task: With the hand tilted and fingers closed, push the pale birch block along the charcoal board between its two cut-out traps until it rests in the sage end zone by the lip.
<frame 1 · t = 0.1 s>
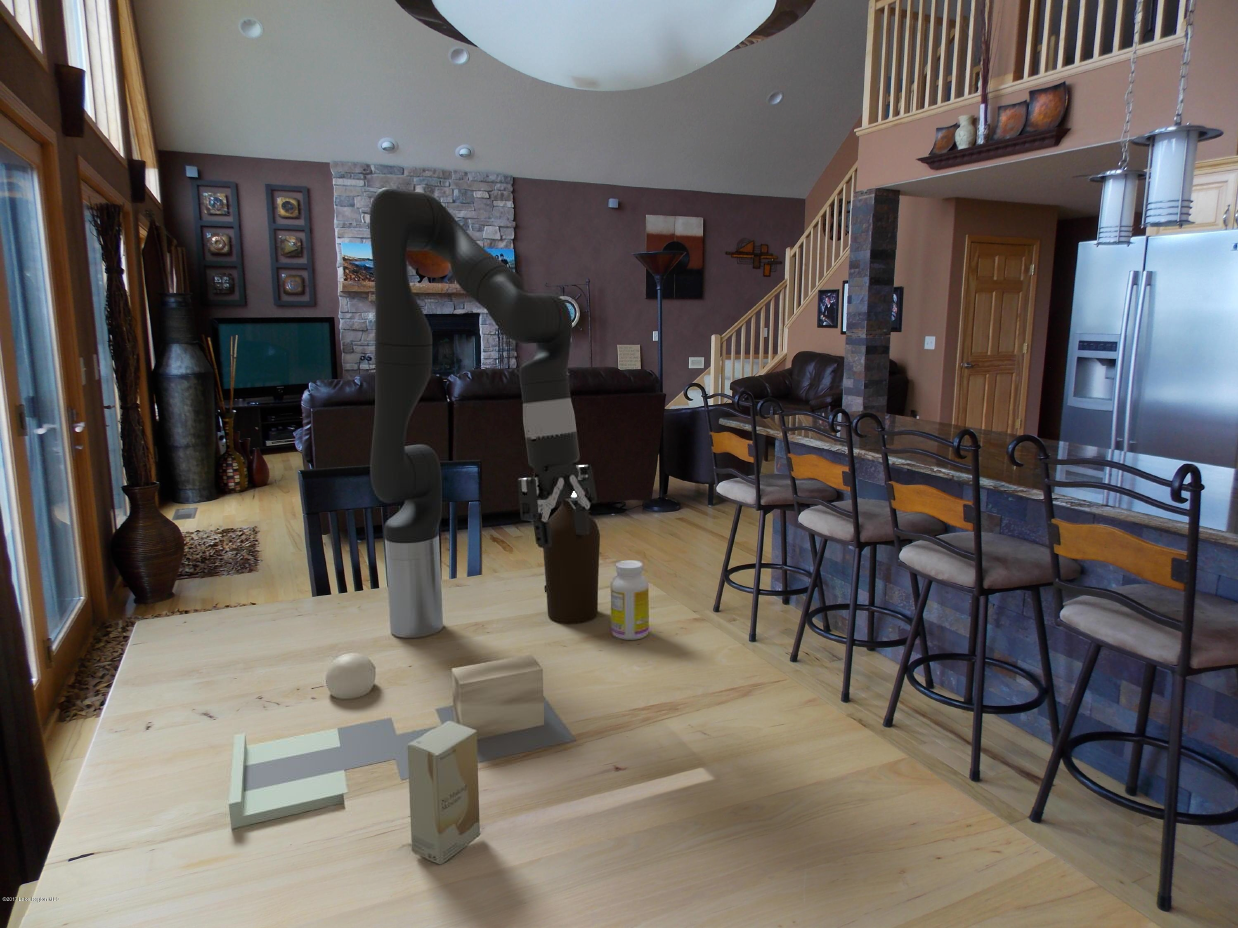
hand: (564, 540, 117), 22 cm above the table, tool pointing down, fingers open, 8 cm apart
skincare box: (447, 844, 84), on the table
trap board: (412, 751, 102), on the table
supplement bottle: (629, 634, 140), on the table
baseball: (353, 698, 117), on the table
olive oil: (572, 615, 149), on the table
birch block: (499, 724, 106), point 1 cm above the table, touching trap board
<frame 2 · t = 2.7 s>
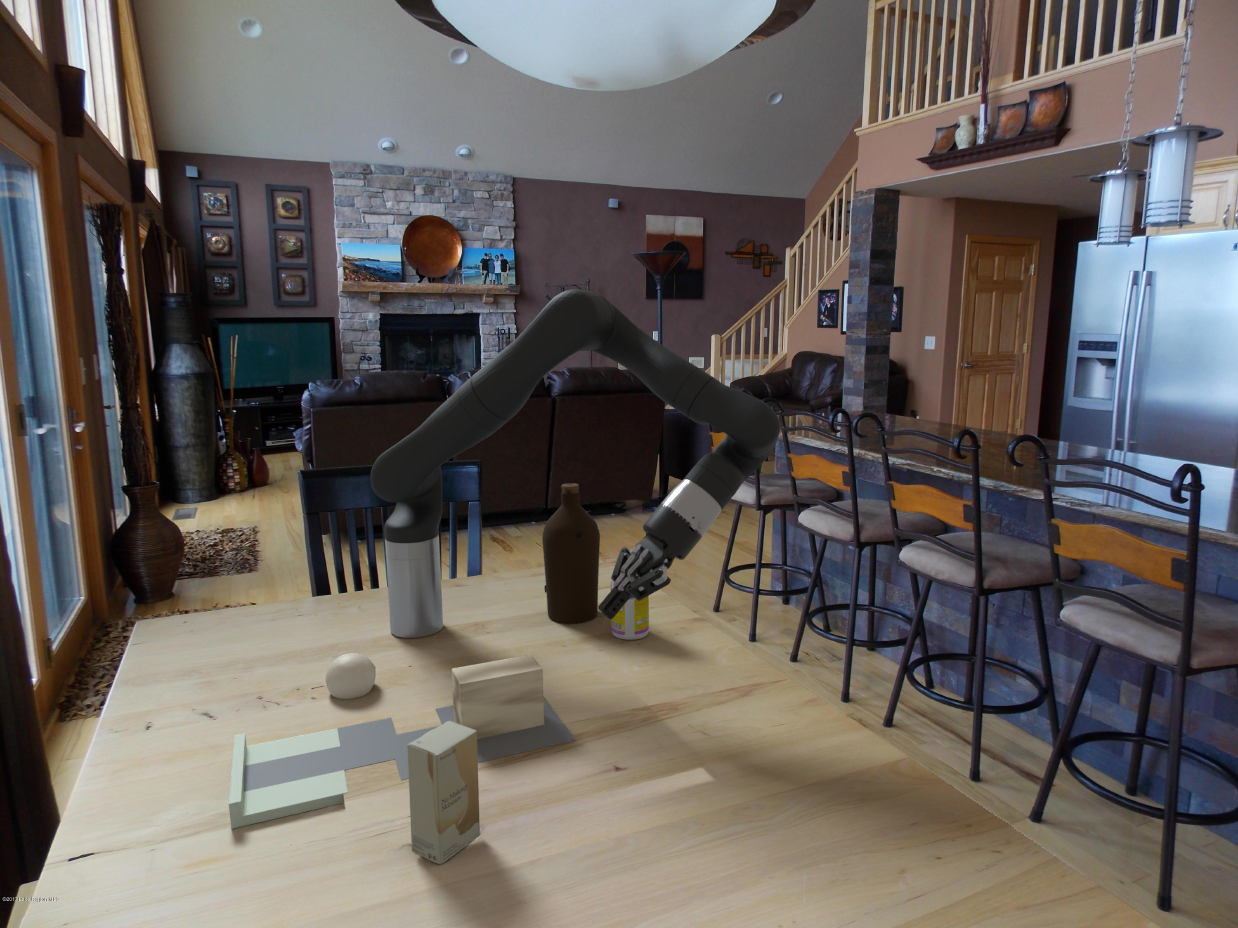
hand: (604, 614, 110), 14 cm above the table, tool tilted 45°, fingers closed
nothing on the table moved.
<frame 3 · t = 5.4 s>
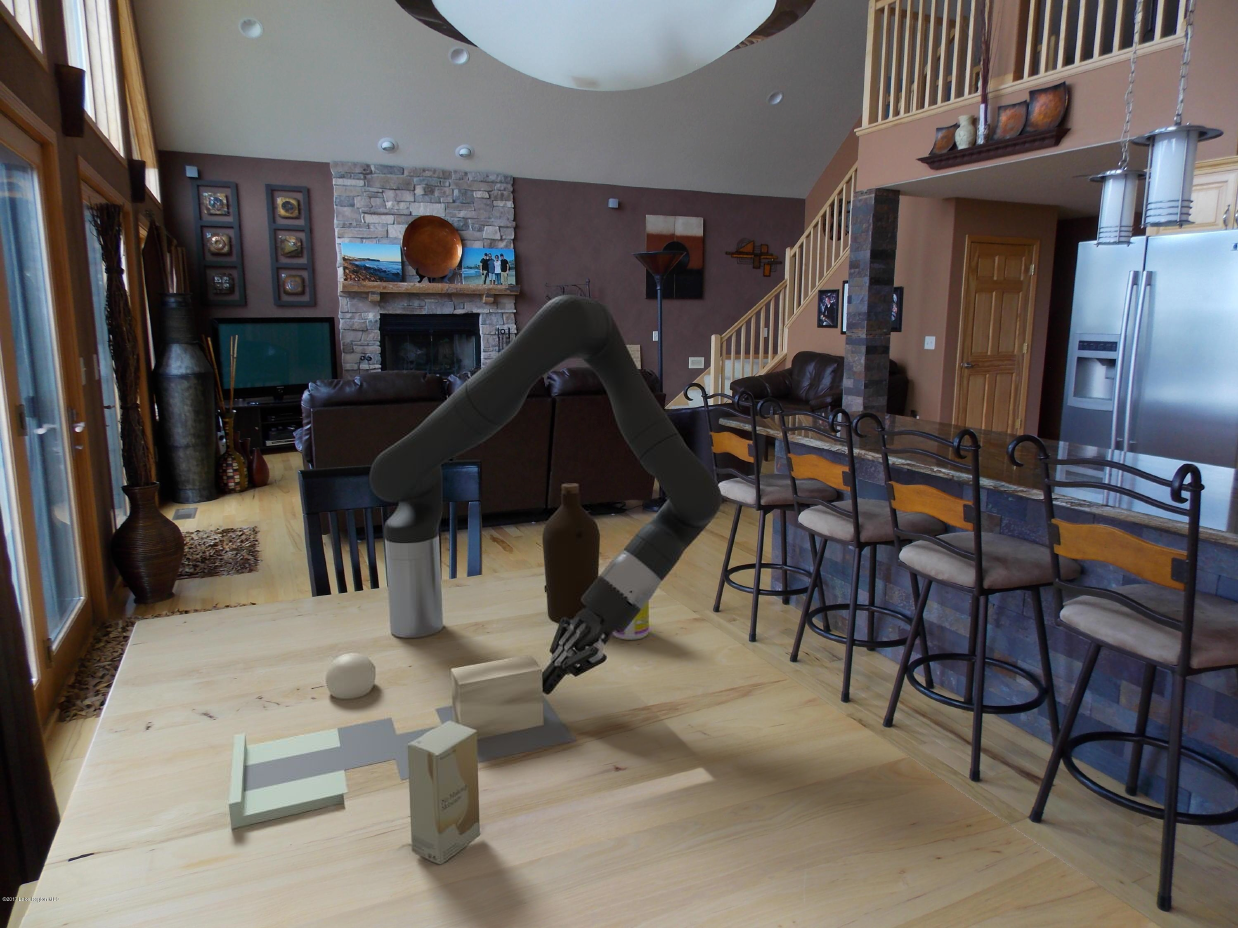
hand: (541, 689, 108), 5 cm above the table, tool tilted 45°, fingers closed
nothing on the table moved.
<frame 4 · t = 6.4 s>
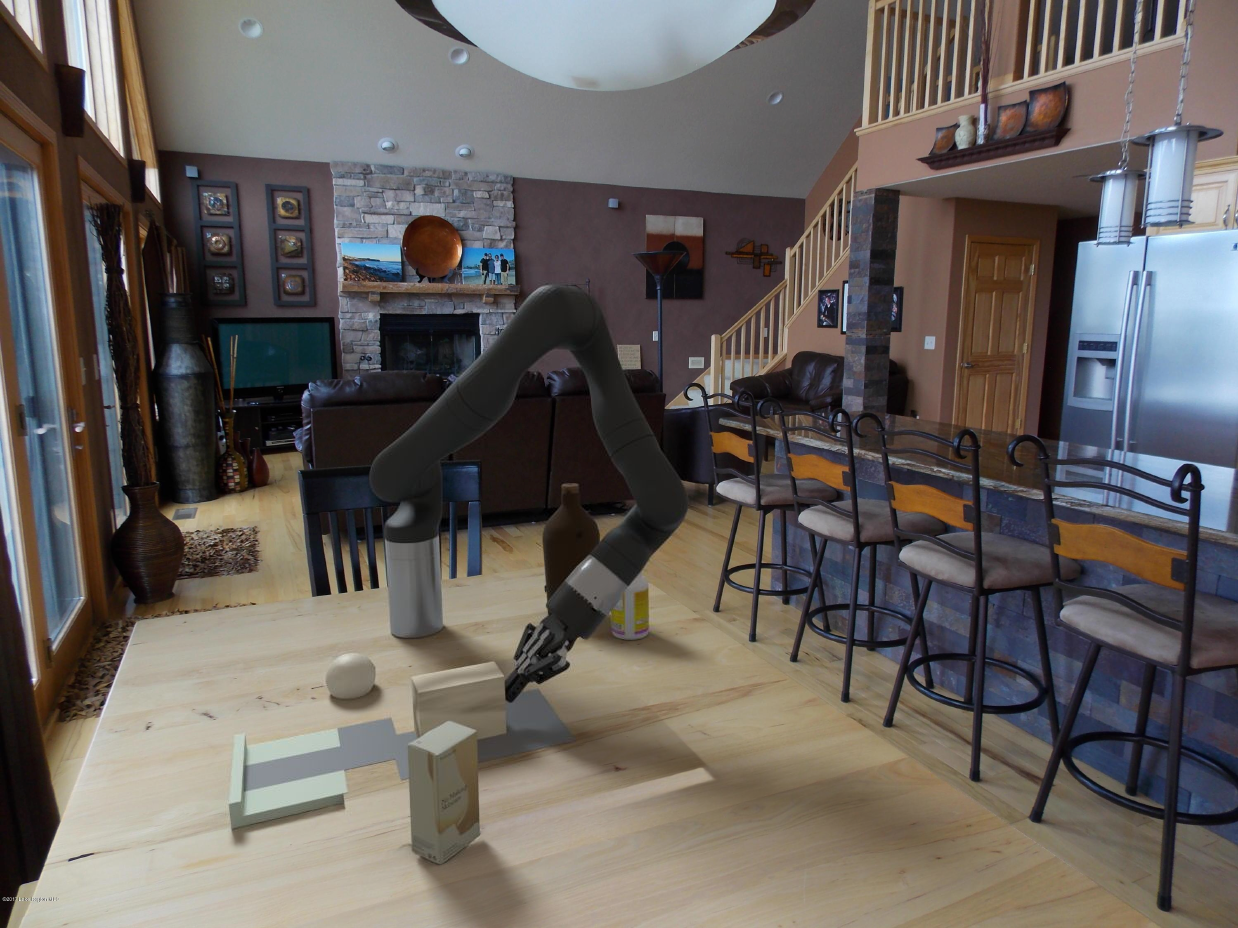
hand: (504, 697, 106), 5 cm above the table, tool tilted 45°, fingers closed
birch block: (460, 733, 104), point 1 cm above the table, touching gripper, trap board
everything else where it was.
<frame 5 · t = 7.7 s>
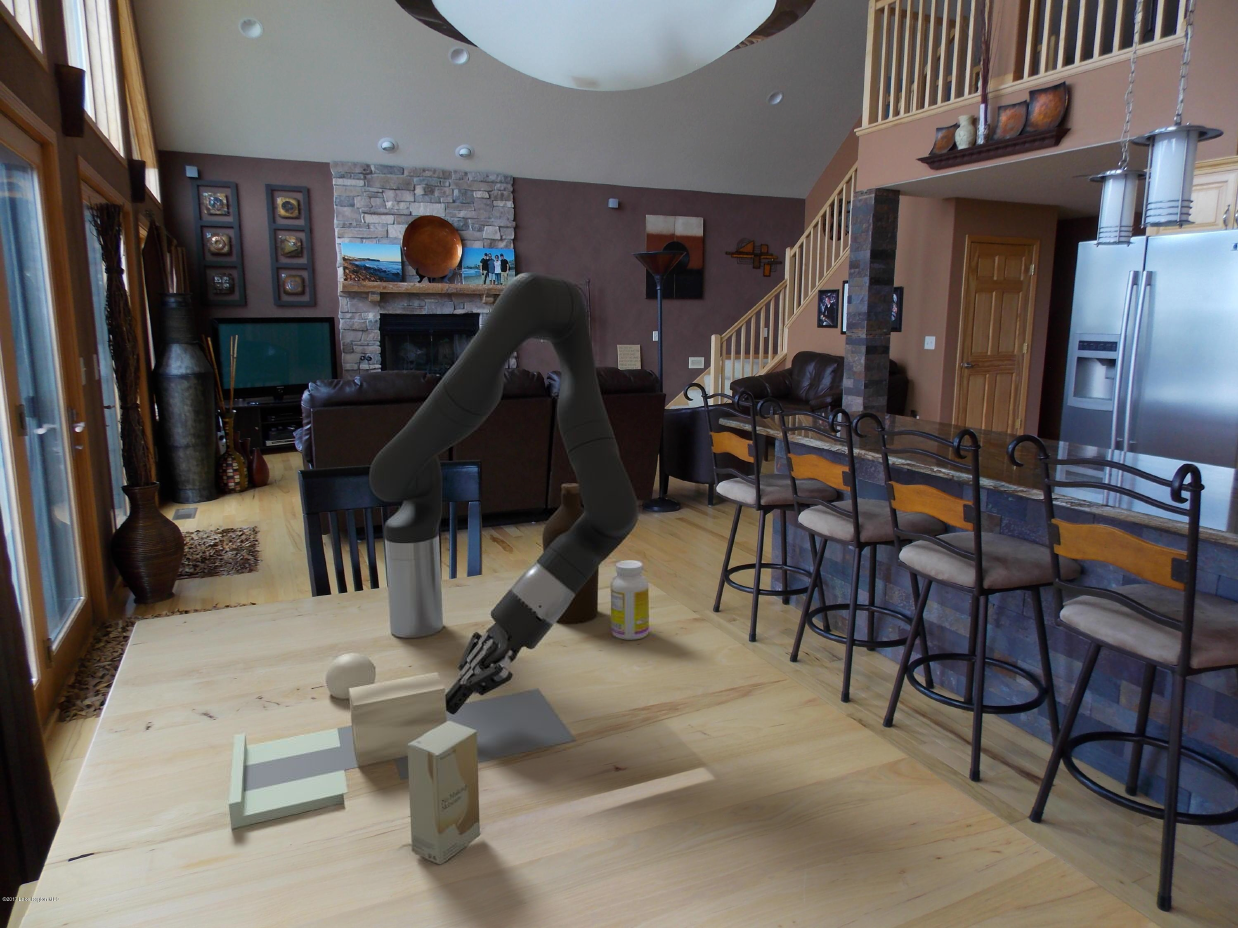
hand: (446, 708, 103), 5 cm above the table, tool tilted 45°, fingers closed
birch block: (400, 746, 101), point 1 cm above the table, touching gripper, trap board
everything else where it was.
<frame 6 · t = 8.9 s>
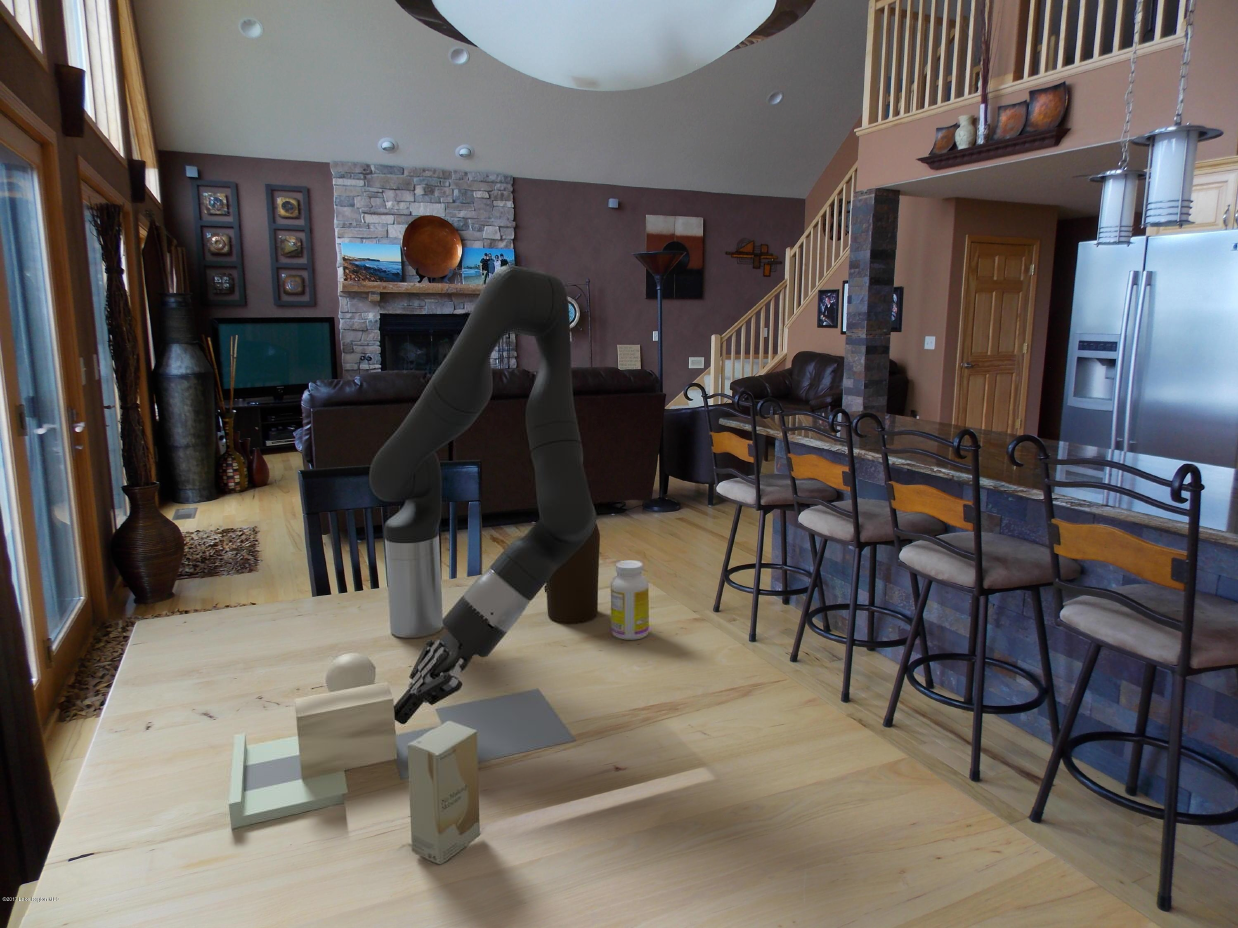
hand: (396, 718, 100), 5 cm above the table, tool tilted 45°, fingers closed
birch block: (348, 758, 98), point 1 cm above the table, touching gripper
everything else where it was.
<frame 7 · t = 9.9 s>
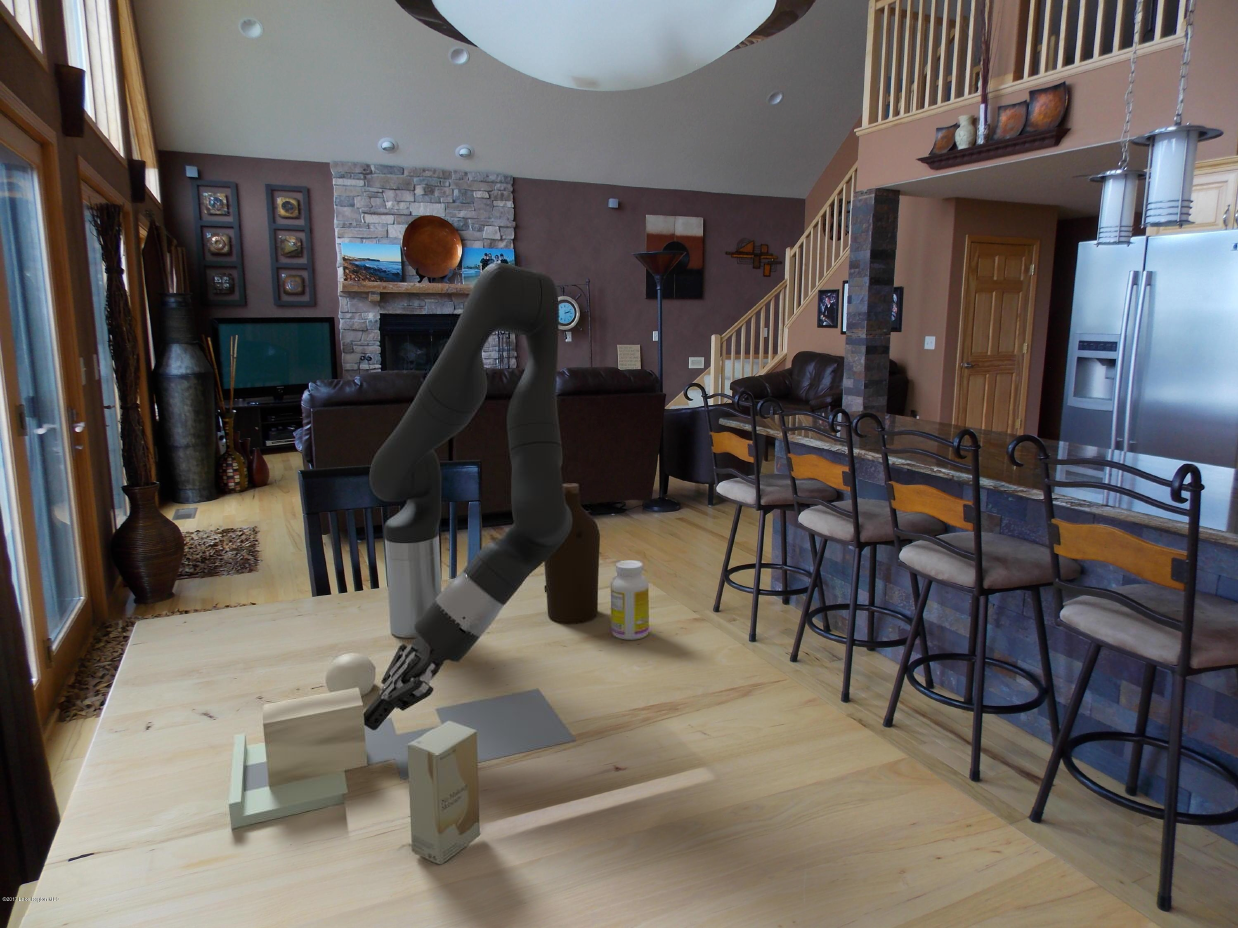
hand: (367, 724, 99), 5 cm above the table, tool tilted 45°, fingers closed
birch block: (317, 765, 97), point 1 cm above the table, touching gripper, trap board
everything else where it was.
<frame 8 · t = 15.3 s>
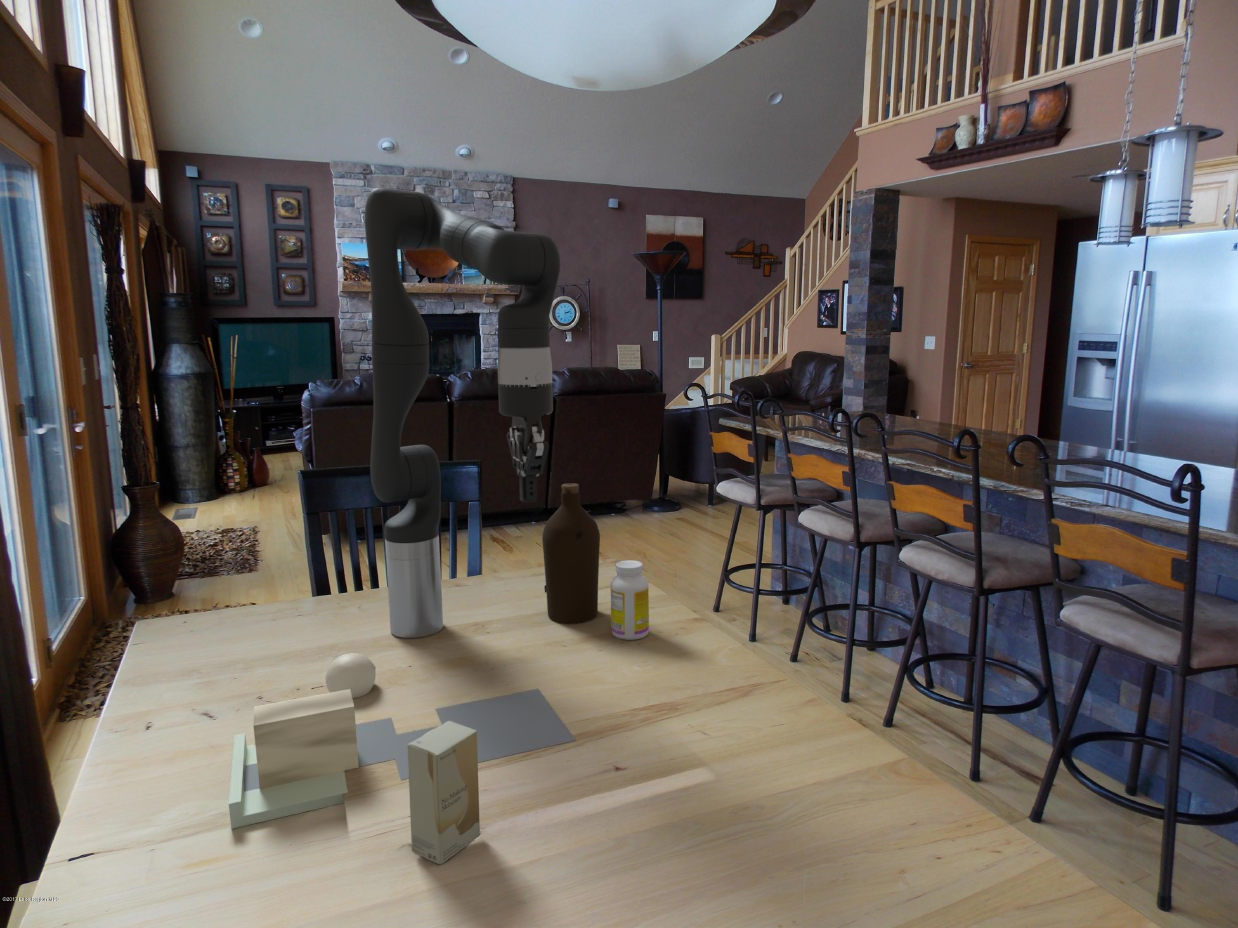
hand: (528, 501, 113), 29 cm above the table, tool pointing down, fingers closed
birch block: (309, 767, 96), point 1 cm above the table, touching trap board
everything else where it was.
at the end: birch block inside the target area (1.0 cm from its centre), point 1.2 cm above the table; birch block tilted 0° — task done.
